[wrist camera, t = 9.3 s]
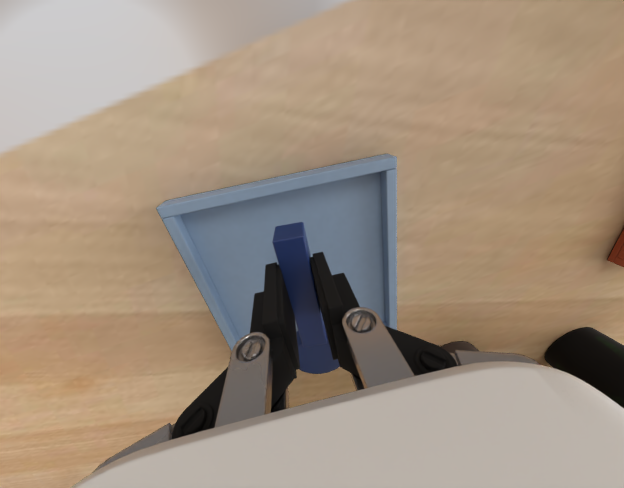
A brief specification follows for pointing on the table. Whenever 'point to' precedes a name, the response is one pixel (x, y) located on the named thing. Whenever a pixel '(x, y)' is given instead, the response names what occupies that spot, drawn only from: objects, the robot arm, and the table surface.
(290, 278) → the blue spoon
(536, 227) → the table surface
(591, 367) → the cup
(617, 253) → the red tray
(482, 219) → the table surface
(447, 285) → the table surface
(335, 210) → the blue tray
